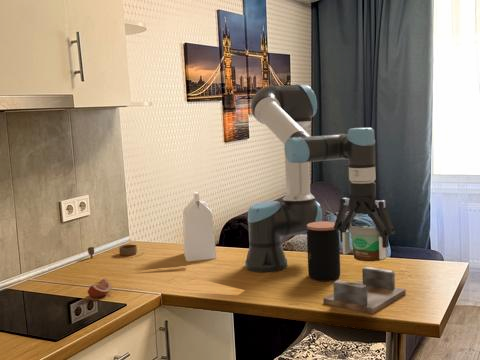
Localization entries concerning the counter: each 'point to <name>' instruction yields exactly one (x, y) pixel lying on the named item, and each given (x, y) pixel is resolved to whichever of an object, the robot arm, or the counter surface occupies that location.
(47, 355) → the counter surface
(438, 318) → the counter surface
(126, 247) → the place setting
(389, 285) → the holder
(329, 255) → the coffee jar
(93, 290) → the fruit slice
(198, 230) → the milk
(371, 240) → the food container
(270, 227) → the robot arm
